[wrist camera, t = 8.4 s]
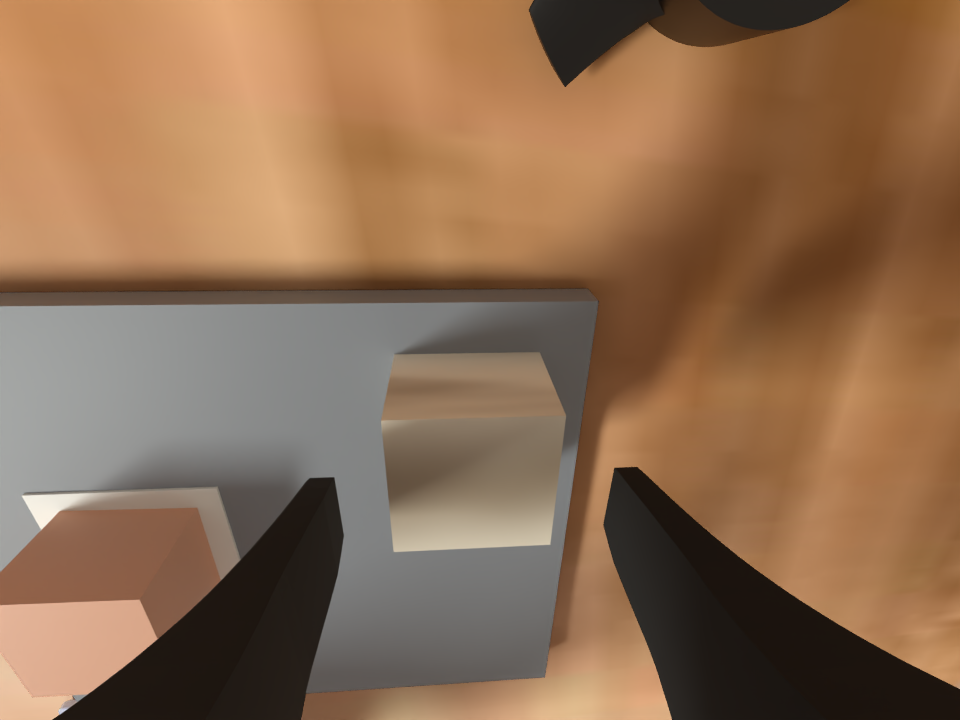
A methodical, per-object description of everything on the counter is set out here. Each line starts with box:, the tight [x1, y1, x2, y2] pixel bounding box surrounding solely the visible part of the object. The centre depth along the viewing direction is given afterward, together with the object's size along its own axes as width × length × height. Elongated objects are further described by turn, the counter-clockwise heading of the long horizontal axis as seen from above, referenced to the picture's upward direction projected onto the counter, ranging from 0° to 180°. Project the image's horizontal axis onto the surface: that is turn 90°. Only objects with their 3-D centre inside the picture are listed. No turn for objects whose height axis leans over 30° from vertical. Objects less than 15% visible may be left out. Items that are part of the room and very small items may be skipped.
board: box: [0, 289, 599, 702], centre depth 19 cm, size 20×22×1 cm
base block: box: [0, 508, 221, 697], centre depth 16 cm, size 5×5×4 cm
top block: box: [381, 352, 566, 552], centre depth 14 cm, size 5×5×4 cm
